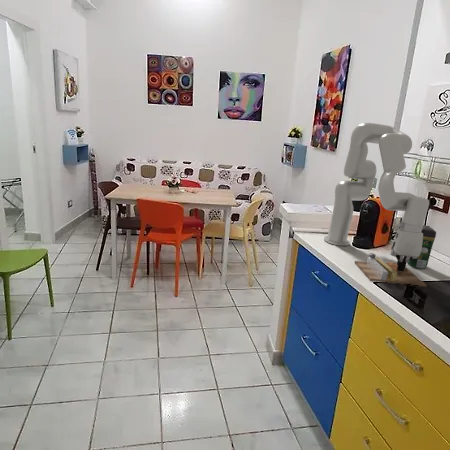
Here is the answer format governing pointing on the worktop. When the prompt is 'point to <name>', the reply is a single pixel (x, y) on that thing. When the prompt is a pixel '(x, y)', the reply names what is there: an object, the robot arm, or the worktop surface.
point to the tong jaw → (391, 272)
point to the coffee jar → (424, 248)
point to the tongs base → (376, 267)
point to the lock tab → (392, 265)
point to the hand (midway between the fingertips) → (399, 270)
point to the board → (402, 277)
